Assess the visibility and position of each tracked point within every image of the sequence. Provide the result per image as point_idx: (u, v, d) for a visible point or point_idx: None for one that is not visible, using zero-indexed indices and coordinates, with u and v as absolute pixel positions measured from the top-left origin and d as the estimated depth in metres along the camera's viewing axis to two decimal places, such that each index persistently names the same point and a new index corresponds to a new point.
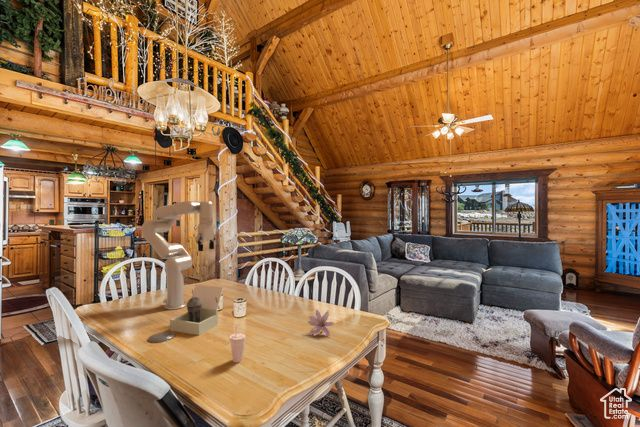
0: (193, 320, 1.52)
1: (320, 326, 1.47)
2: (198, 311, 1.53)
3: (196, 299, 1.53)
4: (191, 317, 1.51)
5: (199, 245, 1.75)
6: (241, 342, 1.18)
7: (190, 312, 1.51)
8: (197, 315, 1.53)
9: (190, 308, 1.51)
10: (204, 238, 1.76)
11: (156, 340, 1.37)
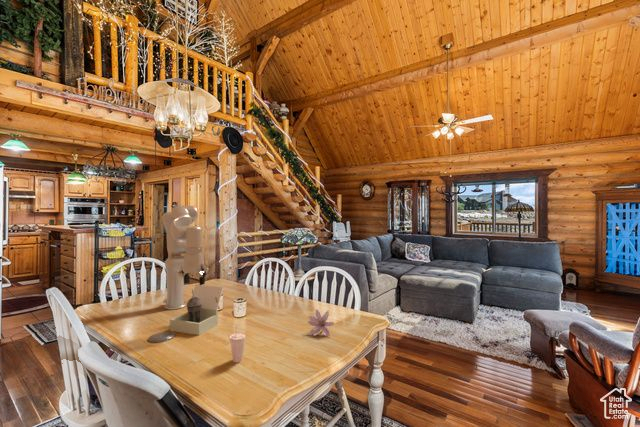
0: (193, 320, 1.52)
1: (320, 326, 1.47)
2: (198, 311, 1.53)
3: (196, 299, 1.53)
4: (191, 317, 1.51)
5: (203, 278, 1.52)
6: (241, 342, 1.18)
7: (190, 312, 1.51)
8: (197, 315, 1.53)
9: (190, 308, 1.51)
10: None
11: (156, 340, 1.37)
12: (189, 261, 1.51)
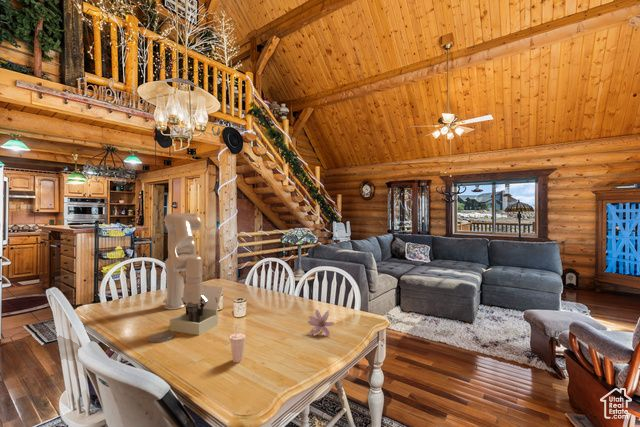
0: (193, 320, 1.52)
1: (320, 326, 1.47)
2: None
3: None
4: (191, 317, 1.51)
5: (201, 309, 1.53)
6: (241, 342, 1.18)
7: (190, 312, 1.51)
8: (197, 315, 1.53)
9: (190, 308, 1.51)
10: None
11: (156, 340, 1.37)
12: (189, 291, 1.52)
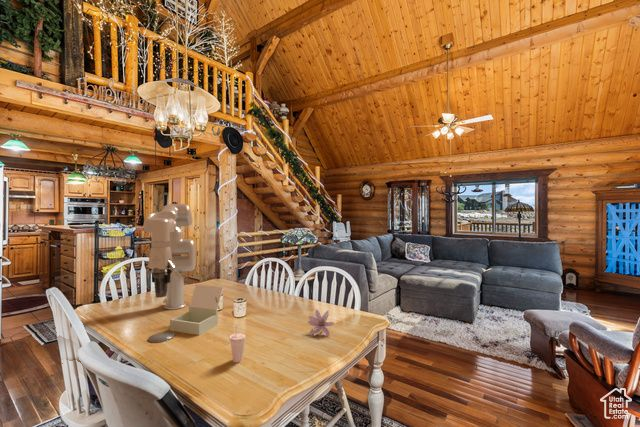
0: (159, 287, 1.39)
1: (320, 326, 1.47)
2: None
3: None
4: (157, 284, 1.39)
5: (168, 275, 1.40)
6: (241, 342, 1.18)
7: (156, 279, 1.39)
8: None
9: (156, 274, 1.38)
10: None
11: (156, 340, 1.37)
12: (155, 256, 1.39)
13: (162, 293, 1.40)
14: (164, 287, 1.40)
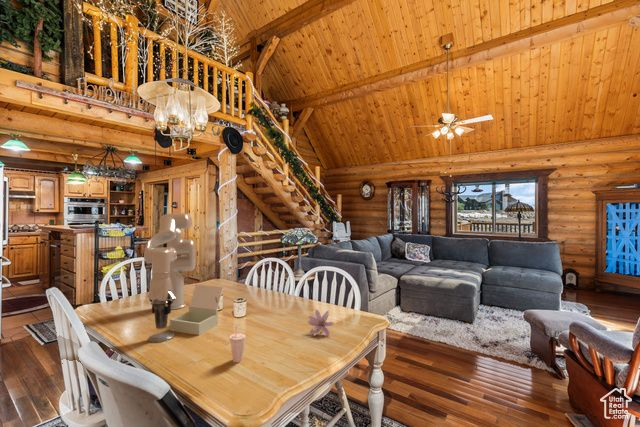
0: (159, 318, 1.39)
1: (320, 326, 1.47)
2: None
3: None
4: (157, 315, 1.39)
5: (169, 307, 1.40)
6: (241, 342, 1.18)
7: (156, 310, 1.39)
8: None
9: (156, 306, 1.38)
10: None
11: (156, 340, 1.37)
12: (156, 287, 1.39)
13: (162, 324, 1.40)
14: (164, 318, 1.40)
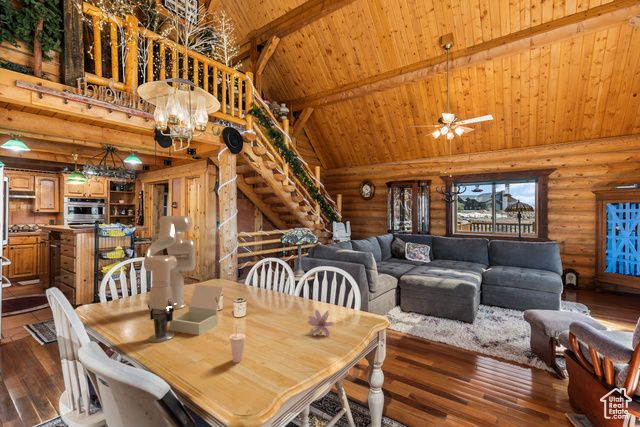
0: (159, 328, 1.40)
1: (320, 326, 1.47)
2: (165, 318, 1.41)
3: None
4: (157, 325, 1.39)
5: (171, 314, 1.40)
6: (241, 342, 1.18)
7: (156, 319, 1.39)
8: (164, 323, 1.41)
9: (156, 315, 1.39)
10: None
11: (156, 340, 1.37)
12: (156, 296, 1.39)
13: (162, 334, 1.40)
14: (164, 327, 1.41)
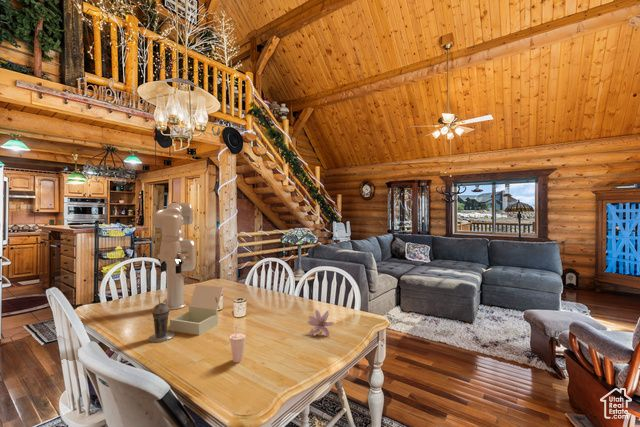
0: (159, 328, 1.40)
1: (320, 326, 1.47)
2: (165, 318, 1.41)
3: (163, 305, 1.41)
4: (157, 325, 1.39)
5: (179, 266, 1.50)
6: (241, 342, 1.18)
7: (156, 319, 1.39)
8: (164, 323, 1.41)
9: (156, 315, 1.39)
10: None
11: (156, 340, 1.37)
12: (166, 249, 1.49)
13: (162, 334, 1.40)
14: (164, 327, 1.41)
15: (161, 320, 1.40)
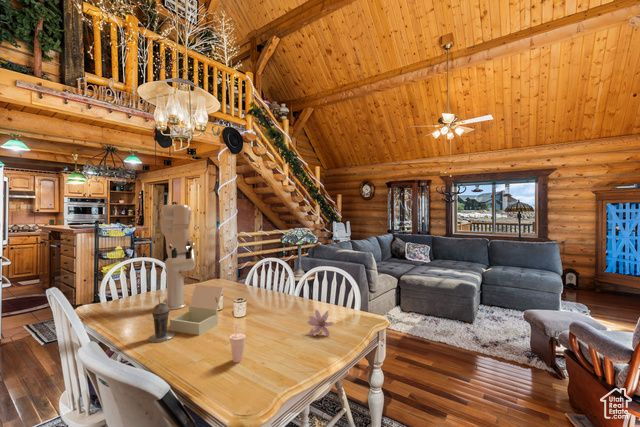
0: (159, 328, 1.40)
1: (320, 326, 1.47)
2: (165, 318, 1.41)
3: (163, 305, 1.41)
4: (157, 325, 1.39)
5: (189, 252, 1.62)
6: (241, 342, 1.18)
7: (156, 319, 1.39)
8: (164, 323, 1.41)
9: (156, 315, 1.39)
10: None
11: (156, 340, 1.37)
12: (176, 236, 1.62)
13: (162, 334, 1.40)
14: (164, 327, 1.41)
15: (161, 320, 1.40)
